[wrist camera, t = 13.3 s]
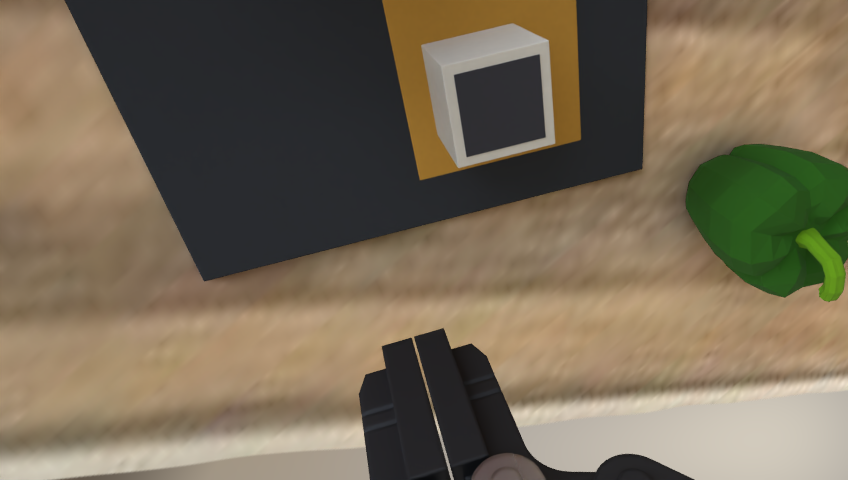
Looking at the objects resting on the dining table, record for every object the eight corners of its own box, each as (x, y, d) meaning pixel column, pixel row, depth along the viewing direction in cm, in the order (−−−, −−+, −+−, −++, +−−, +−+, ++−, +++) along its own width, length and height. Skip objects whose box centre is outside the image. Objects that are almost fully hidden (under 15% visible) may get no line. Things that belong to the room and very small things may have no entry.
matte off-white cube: (549, 40, 24) (513, 22, 28) (440, 66, 24) (420, 44, 28) (556, 144, 27) (521, 113, 31) (458, 169, 26) (437, 135, 31)
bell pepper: (695, 116, 34) (825, 182, 25) (801, 132, 36) (954, 197, 27) (645, 234, 38) (743, 325, 29) (743, 242, 40) (862, 329, 31)
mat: (67, -3, 25) (63, -2, 24) (646, -132, 27) (651, -133, 26) (205, 277, 33) (203, 282, 33) (638, 166, 35) (643, 169, 34)
